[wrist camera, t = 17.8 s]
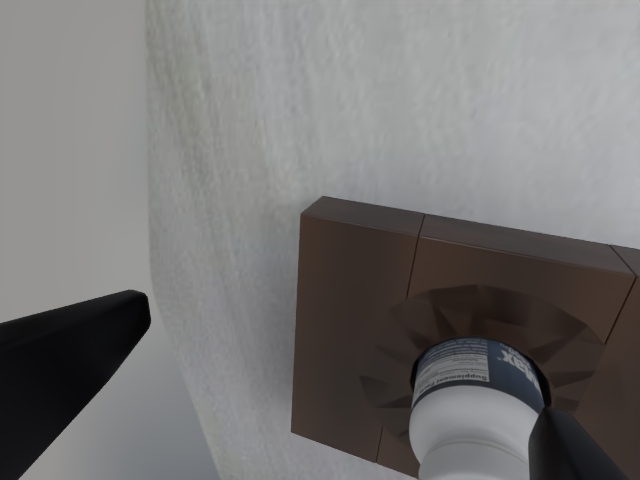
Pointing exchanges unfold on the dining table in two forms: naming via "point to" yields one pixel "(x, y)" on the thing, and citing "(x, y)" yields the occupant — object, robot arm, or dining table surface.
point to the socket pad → (456, 323)
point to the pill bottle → (474, 410)
